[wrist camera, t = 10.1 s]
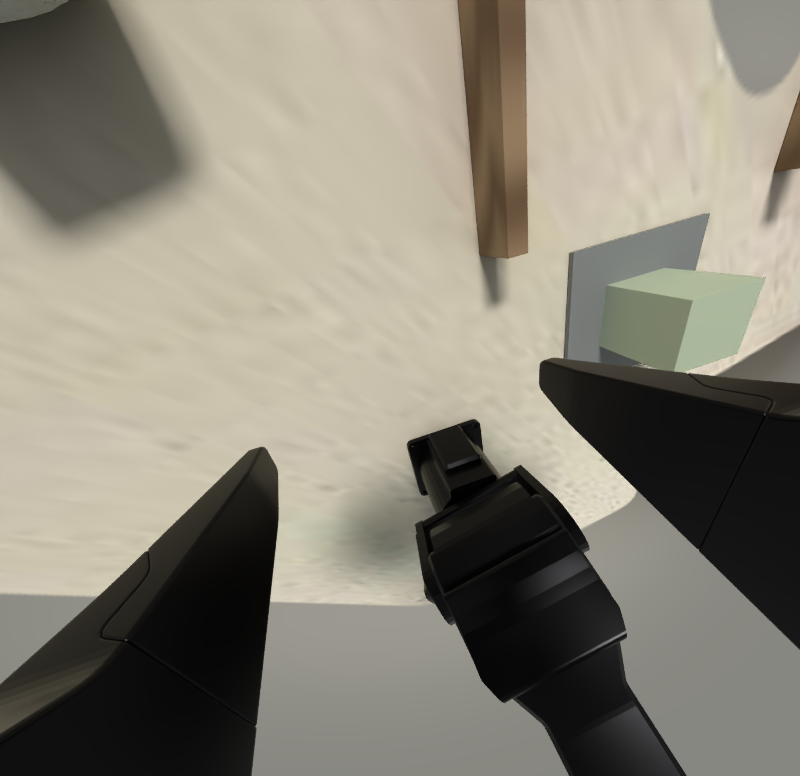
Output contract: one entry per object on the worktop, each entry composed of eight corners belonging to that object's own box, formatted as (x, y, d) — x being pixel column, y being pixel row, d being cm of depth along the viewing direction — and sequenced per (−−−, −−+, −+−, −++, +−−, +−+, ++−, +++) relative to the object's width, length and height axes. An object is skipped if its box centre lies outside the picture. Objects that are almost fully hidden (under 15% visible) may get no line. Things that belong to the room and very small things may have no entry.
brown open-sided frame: (787, 167, 22) (863, 156, 19) (479, 254, 20) (508, 258, 17) (959, -330, 13) (1153, -503, 10) (434, -273, 11) (478, -472, 8)
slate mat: (670, 349, 27) (674, 350, 27) (562, 385, 26) (565, 387, 26) (703, 213, 22) (709, 213, 22) (569, 252, 21) (573, 253, 21)
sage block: (651, 329, 25) (737, 353, 20) (599, 346, 25) (672, 375, 20) (664, 267, 23) (765, 277, 18) (606, 285, 22) (692, 300, 17)
